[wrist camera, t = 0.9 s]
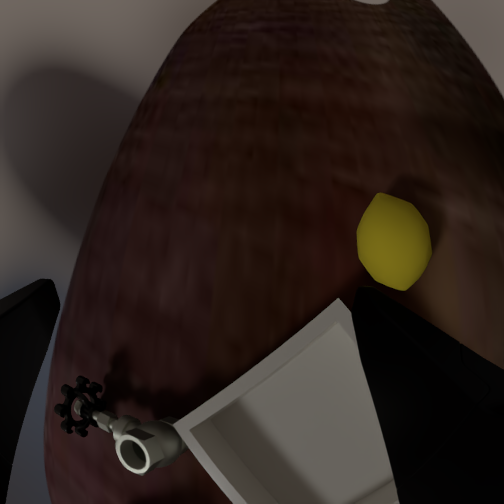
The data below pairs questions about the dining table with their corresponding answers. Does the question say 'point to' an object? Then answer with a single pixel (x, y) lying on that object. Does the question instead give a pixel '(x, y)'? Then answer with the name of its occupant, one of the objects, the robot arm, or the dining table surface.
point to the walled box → (297, 425)
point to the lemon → (393, 242)
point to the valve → (122, 429)
